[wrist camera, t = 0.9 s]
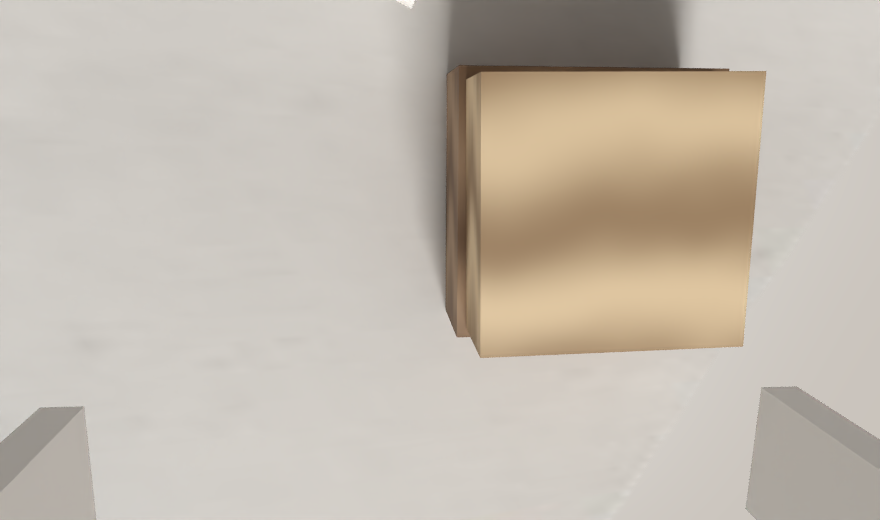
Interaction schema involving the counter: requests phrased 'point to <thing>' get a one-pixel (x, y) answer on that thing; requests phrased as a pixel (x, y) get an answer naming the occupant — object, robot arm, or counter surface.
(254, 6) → the counter surface
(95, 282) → the counter surface
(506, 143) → the oak block
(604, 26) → the counter surface
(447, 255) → the walnut block
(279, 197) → the counter surface
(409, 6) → the cup
